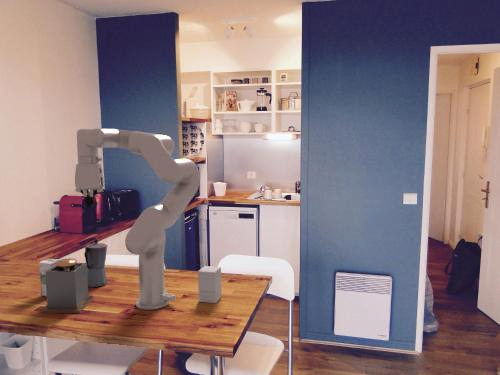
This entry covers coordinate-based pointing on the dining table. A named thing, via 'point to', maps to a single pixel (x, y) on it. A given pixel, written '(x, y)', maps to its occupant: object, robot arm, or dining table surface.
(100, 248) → the moka pot
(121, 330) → the dining table surface
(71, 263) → the plunger
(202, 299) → the supplement box
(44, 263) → the syrup box
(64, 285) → the grey square canister
